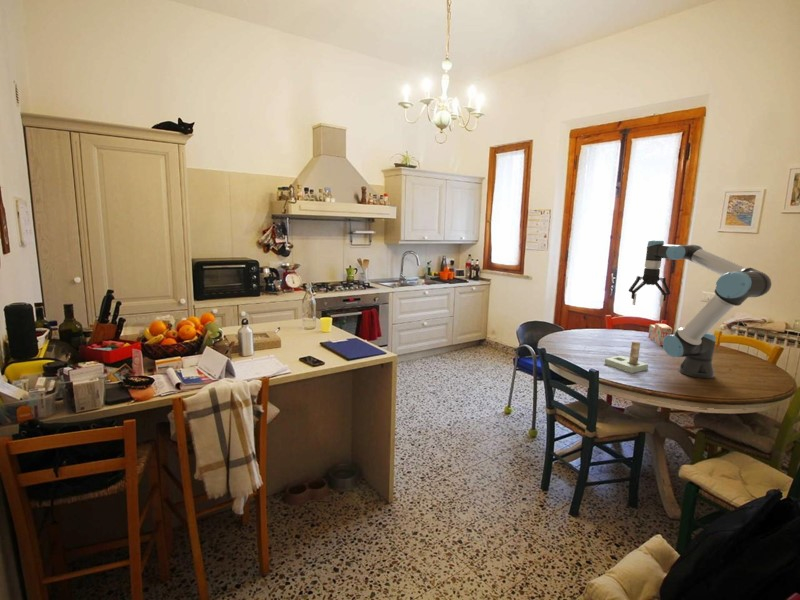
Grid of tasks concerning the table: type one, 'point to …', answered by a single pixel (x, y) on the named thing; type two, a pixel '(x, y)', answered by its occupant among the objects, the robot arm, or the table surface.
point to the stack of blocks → (659, 332)
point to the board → (625, 364)
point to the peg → (634, 353)
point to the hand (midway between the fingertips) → (647, 305)
